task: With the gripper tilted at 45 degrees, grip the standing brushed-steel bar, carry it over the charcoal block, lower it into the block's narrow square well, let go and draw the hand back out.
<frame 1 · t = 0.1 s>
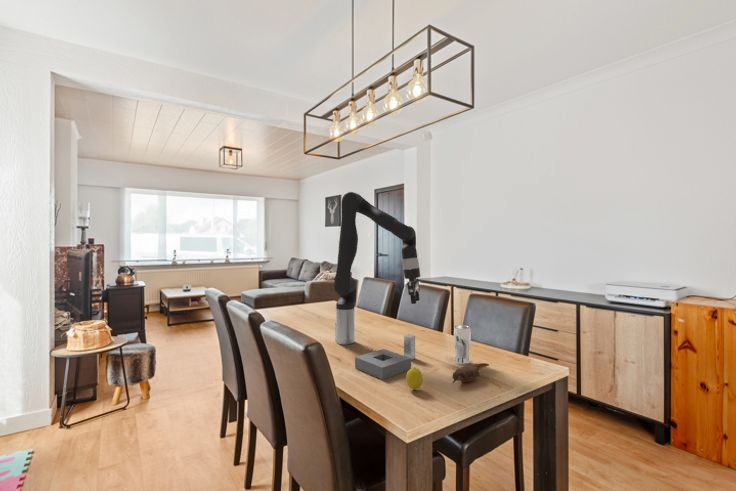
hand: (415, 302, 168), 22 cm above the table, tool pointing down, fingers open, 8 cm apart
well block: (382, 368, 144), on the table
beer glass: (462, 362, 151), on the table
steel bar: (409, 358, 156), on the table
bird sculpture: (470, 379, 133), on the table
lemon: (414, 390, 124), on the table
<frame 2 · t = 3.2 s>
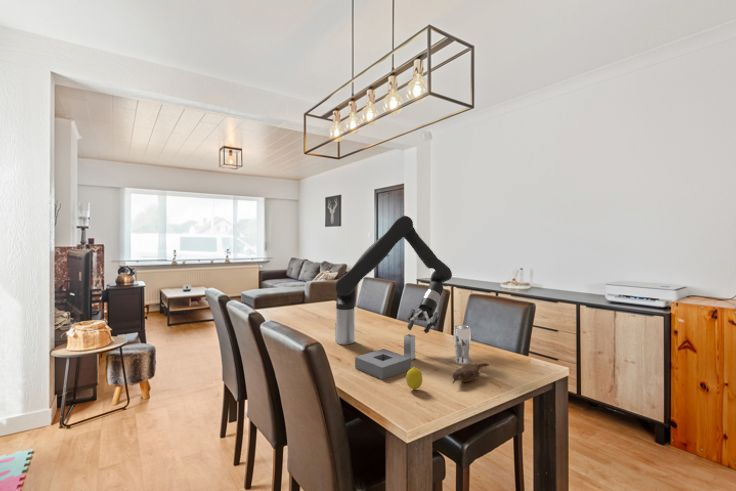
hand: (417, 330, 161), 11 cm above the table, tool tilted 45°, fingers open, 8 cm apart
nothing on the table moved.
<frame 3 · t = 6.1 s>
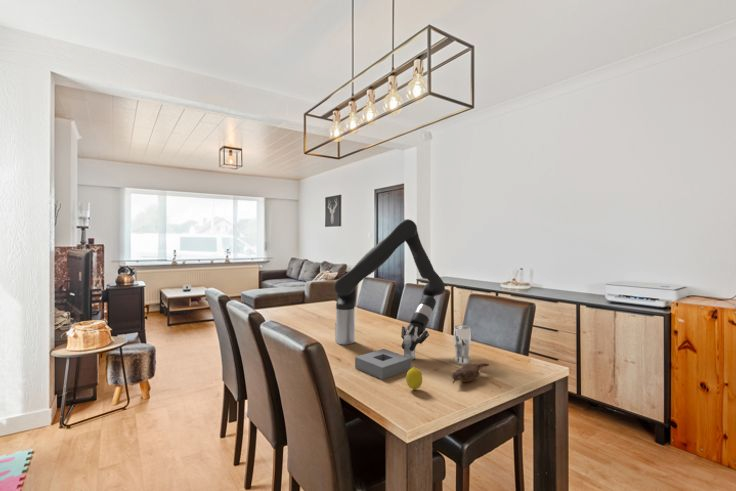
hand: (407, 349, 155), 5 cm above the table, tool tilted 45°, fingers closed on steel bar, 3 cm apart
steel bar: (409, 358, 156), on the table, touching gripper
everything else where it was.
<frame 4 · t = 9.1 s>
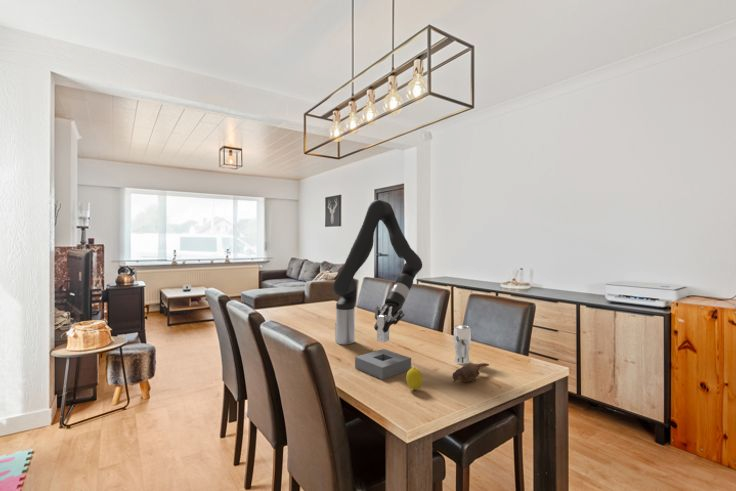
hand: (380, 330, 143), 16 cm above the table, tool tilted 45°, fingers closed on steel bar, 3 cm apart
steel bar: (383, 340, 144), point 11 cm above the table, touching gripper
everything else where it was.
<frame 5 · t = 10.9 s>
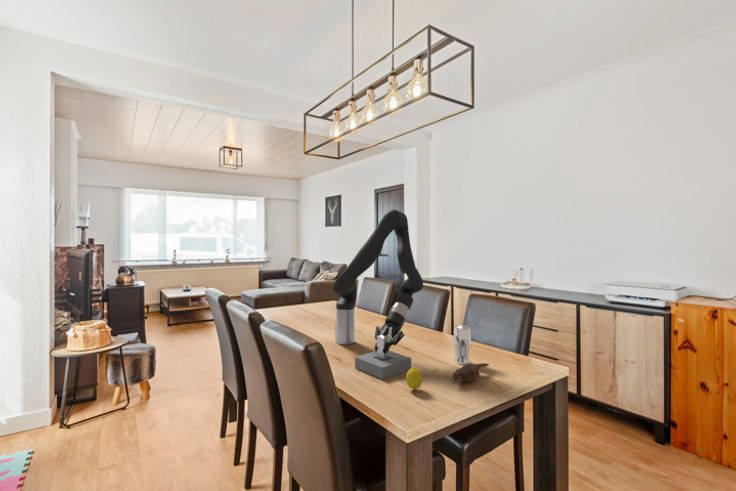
hand: (380, 351, 143), 8 cm above the table, tool tilted 45°, fingers closed on steel bar, 3 cm apart
steel bar: (383, 361, 144), point 3 cm above the table, touching gripper
everything else where it was.
when the fingers open (6 cm above the table, at t = 12.4 s): steel bar drops 1 cm, resting in well block.
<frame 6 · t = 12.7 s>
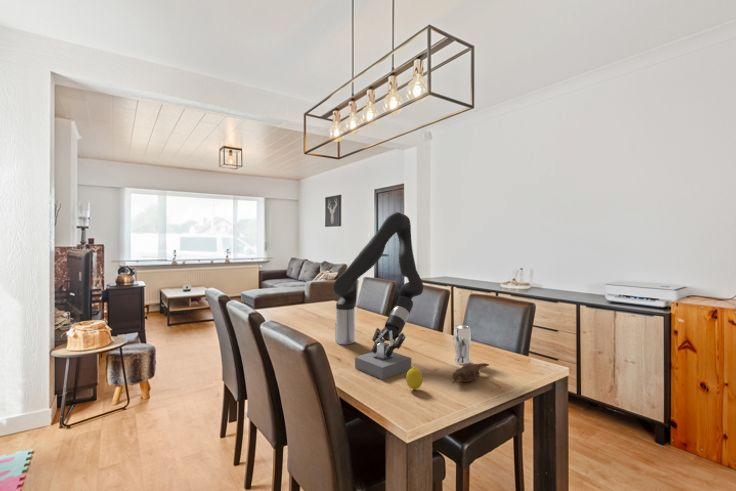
hand: (380, 353, 143), 6 cm above the table, tool tilted 45°, fingers open, 6 cm apart
steel bar: (383, 368, 144), resting in well block
everything else where it was.
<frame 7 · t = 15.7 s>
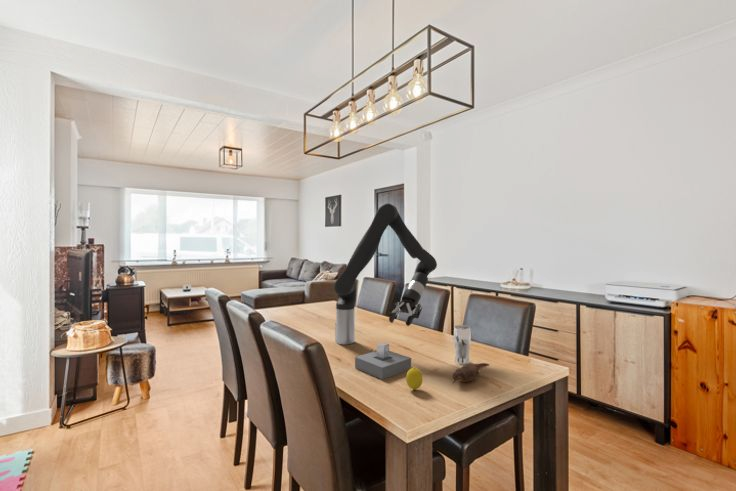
hand: (398, 323, 153), 16 cm above the table, tool tilted 45°, fingers open, 8 cm apart
nothing on the table moved.
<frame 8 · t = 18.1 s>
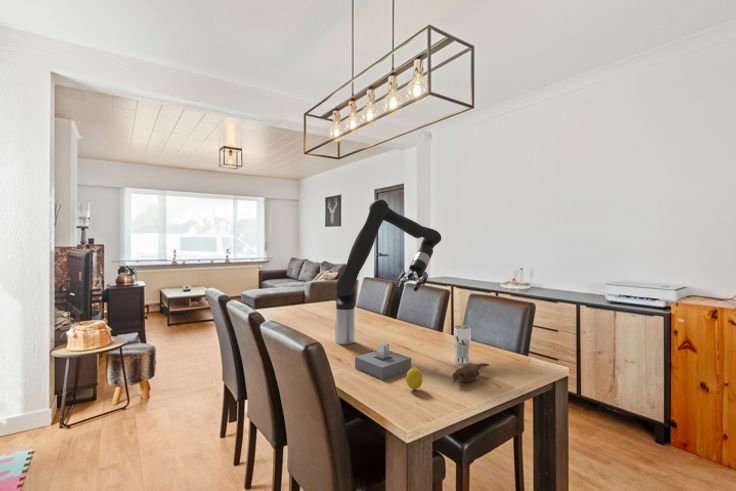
hand: (406, 289, 166), 29 cm above the table, tool tilted 45°, fingers open, 8 cm apart
nothing on the table moved.
at the end: steel bar 0.1 cm off-centre on the well block, point 0.0 cm above the well block's base; steel bar tilted 0°; the gripper is holding nothing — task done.
